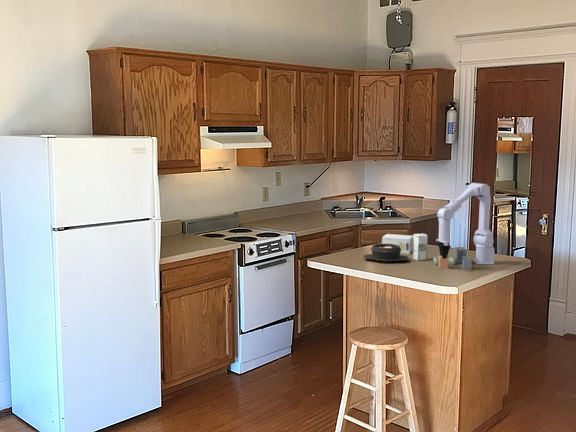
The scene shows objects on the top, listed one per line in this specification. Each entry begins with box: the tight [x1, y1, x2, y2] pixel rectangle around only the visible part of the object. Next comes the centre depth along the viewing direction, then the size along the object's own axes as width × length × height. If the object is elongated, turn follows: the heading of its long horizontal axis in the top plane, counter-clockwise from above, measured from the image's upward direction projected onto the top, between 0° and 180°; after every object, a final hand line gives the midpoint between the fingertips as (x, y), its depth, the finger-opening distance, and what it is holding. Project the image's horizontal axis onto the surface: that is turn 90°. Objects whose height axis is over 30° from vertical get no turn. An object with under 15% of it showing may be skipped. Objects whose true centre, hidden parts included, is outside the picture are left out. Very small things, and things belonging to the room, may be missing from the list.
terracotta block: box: [438, 255, 449, 270], centre depth 329 cm, size 4×4×6 cm
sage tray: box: [432, 256, 455, 266], centre depth 341 cm, size 10×10×2 cm
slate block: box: [461, 256, 473, 270], centre depth 328 cm, size 4×4×6 cm
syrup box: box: [412, 233, 428, 262], centre depth 349 cm, size 6×6×14 cm
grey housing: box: [453, 246, 468, 266], centre depth 342 cm, size 7×11×8 cm, turn 174°
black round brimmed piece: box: [362, 243, 409, 263], centre depth 348 cm, size 25×19×8 cm
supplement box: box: [381, 233, 414, 255], centre depth 376 cm, size 17×13×9 cm
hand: (443, 256), depth 329 cm, fingers open, 7 cm apart
